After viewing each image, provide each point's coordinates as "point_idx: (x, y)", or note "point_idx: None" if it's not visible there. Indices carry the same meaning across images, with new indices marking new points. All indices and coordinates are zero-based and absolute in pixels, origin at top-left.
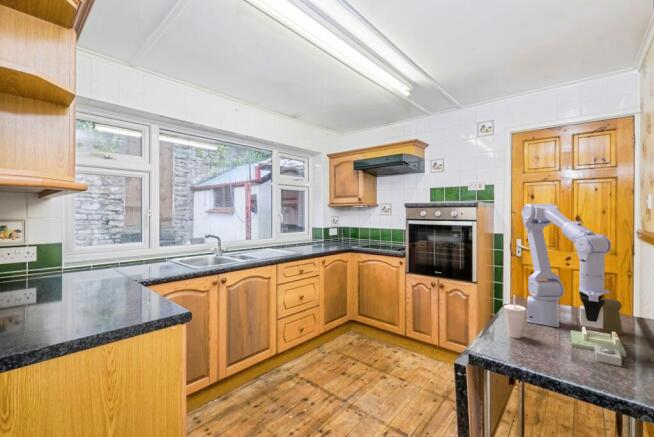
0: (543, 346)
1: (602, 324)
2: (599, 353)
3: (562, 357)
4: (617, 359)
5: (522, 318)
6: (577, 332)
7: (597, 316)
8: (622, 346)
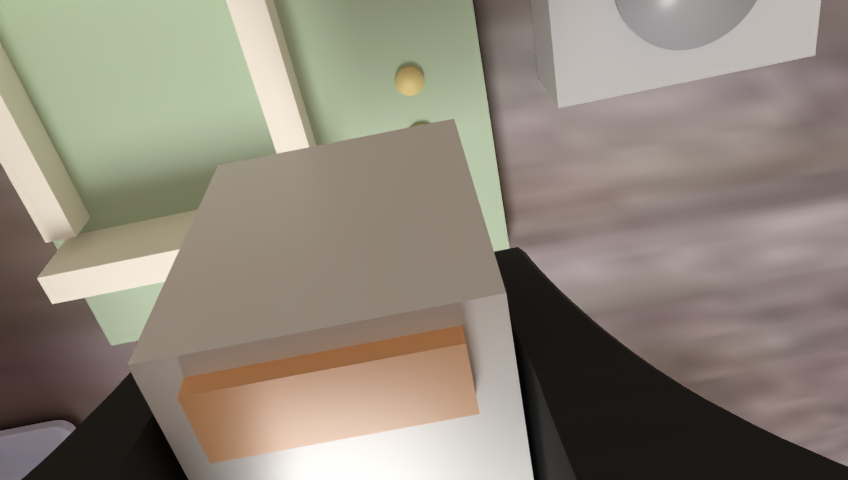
0: None
1: (462, 152)
2: (805, 30)
3: (834, 251)
4: None
5: None
6: (130, 289)
7: (569, 300)
8: None
